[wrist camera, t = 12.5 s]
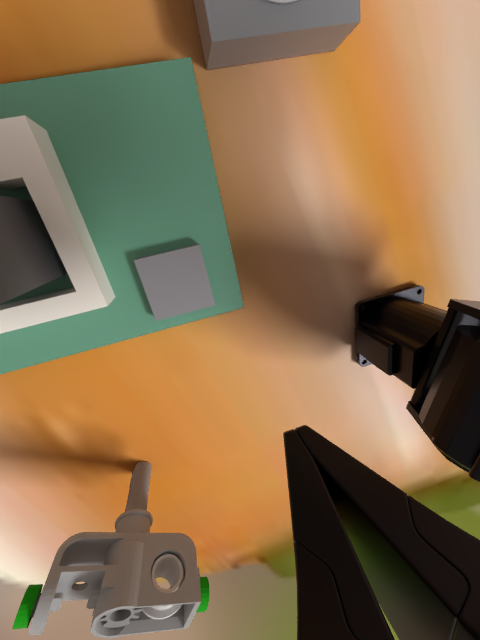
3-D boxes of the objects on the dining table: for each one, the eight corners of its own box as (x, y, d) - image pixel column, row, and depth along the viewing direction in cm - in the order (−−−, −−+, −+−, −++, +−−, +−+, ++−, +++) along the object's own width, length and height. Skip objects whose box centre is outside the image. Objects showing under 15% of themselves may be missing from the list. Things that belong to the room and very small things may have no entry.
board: (189, 72, 15) (192, 30, 11) (239, 301, 20) (251, 316, 17) (-228, 135, 12) (-374, 103, 9) (-43, 377, 18) (-92, 412, 14)
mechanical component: (84, 449, 22) (14, 615, 12) (201, 461, 25) (214, 600, 16) (77, 475, 22) (6, 651, 13) (191, 483, 26) (199, 629, 16)
